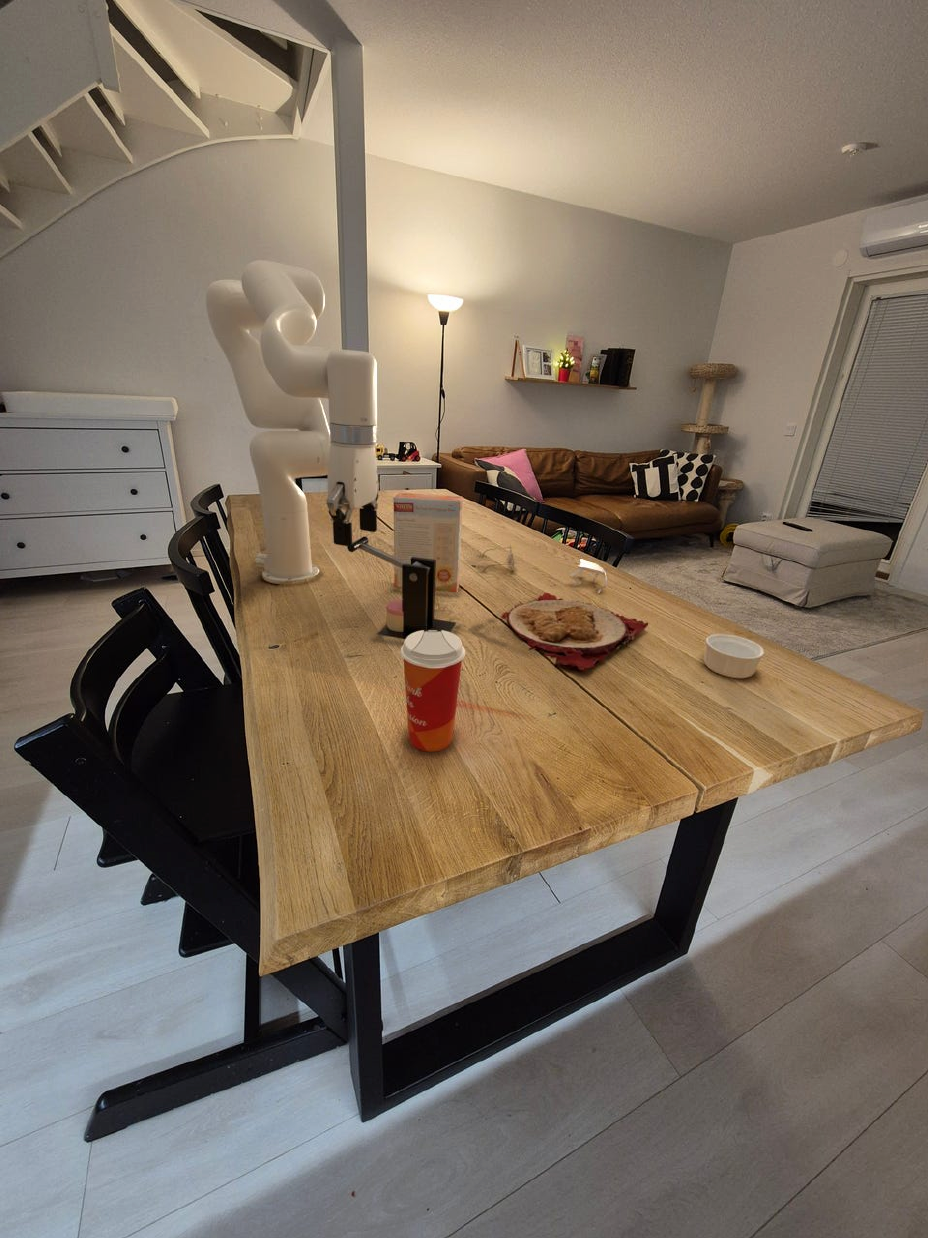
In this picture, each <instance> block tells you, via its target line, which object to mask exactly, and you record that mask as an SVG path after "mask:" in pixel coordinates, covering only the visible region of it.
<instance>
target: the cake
mask: <svg viewBox="0 0 928 1238" xmlns="http://www.w3.org/2000/svg"><path fill="white" fill-rule="evenodd" d="M385 608H386V625H387V627H388V628H389V629H390V630H393V631H397V632H403V611H402V599H394V600H391V601H388V602H387V604H386V607H385Z"/></svg>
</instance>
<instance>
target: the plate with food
mask: <svg viewBox="0 0 928 1238" xmlns="http://www.w3.org/2000/svg"><path fill="white" fill-rule="evenodd" d="M562 597H563V596H562ZM562 597H561V598H557V596H556V595H553V594H551V593H549V592H544V593H543V594H542V595H539V596H538V597H537V599H536V600H531V601H529V603H527V602H526V603H521V604H518V605H517V604H515V605H514V607H513V608H511V609H510V611H506V612H504V613H502V614H501V618H506V617H507V618H506V621H507V623H508V624H509V626H510V628H511V629H512V631H513V633H515V634H516V635H517V636H518V637H519V638H520V639H521V640H522V641H525V642H526V645H528V646H529V647H530V648H528V649H531V650H536V649H537V647H538V648H540V649H541V651H542V652H544V650H546V651H545V652H544V655H546V656H550V659H555V662H556V663H558V664H562V665H564V666H571V667H577V669H578V670H579V671H584V670H588V669H589V668H594V666H595V663H596V662H597V661H598V662H600V663H602V662H603V661H604V660H605V659H606V657H607V656H609V655H611V654H612V653H613V652H614V651H615V650H619V649H620V647H623V646H625V647H626V646H627V645H626V644H627V643H628V642H630V641H634V640H635V636H636V635H637V634H640V633H642V631H644V630H645V629H647V627H648V625H649V624H650V623H649V622H648V621H646V622H644V621H643V620H637V619H636V618H628V617H625V616H624V615H620V614H619V613H615V612H613V611H611V610H608V609H605V608H603V607H602V608H601V607H598V606H596V605H593V604H592V603H591V602H584V601H578V600H565V599H564V598H562ZM548 612H554V614H553V615H555V617H554V616H553V615H550V614H549V613H548ZM492 628H493V629H494V628H495V627H494V626H492ZM620 641H621V643H622V644H621V645H619V646H616V645H617V644H618V643H619V642H620ZM556 653H563V654H560V655H559V654H556Z"/></svg>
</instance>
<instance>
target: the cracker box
mask: <svg viewBox="0 0 928 1238" xmlns="http://www.w3.org/2000/svg"><path fill="white" fill-rule="evenodd" d="M392 500H393V556H394V557H396V558H398V559H401V560H403V561H405V562H407V563H409V564H411V558H412V557H418V558H425V559H433V560H436V576H435V591H440V592H451V593H458V591H459V588H460V577H461V576H460V573H461V554H462V553H461V552H462V551H461V549H462V526H463V525H462V524H463V496H460V495H447V494H446V495H445V494H431V493H414V492H413V493H412V492H398V493H397V494H396V495H395V496H393V499H392ZM393 572H394V573H393V576H394V579H393V580H394V582H393V583H394V587H395V588H402V568H400V567H398V566H396V565H394V564H393Z"/></svg>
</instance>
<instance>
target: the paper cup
mask: <svg viewBox="0 0 928 1238" xmlns="http://www.w3.org/2000/svg"><path fill="white" fill-rule="evenodd" d="M400 655H401V658H402V659H403V673H404V686H405V687H404V688H405V702H406V716H407V717H406V718H407V719H406V720H407V730H408V739H409V742H410V744H411V745H412V747H414V748H415V749H417V750H420V751H423V752H429V753H432V752H439V751H442V750H444V749H446V748H447V747H449V746H450V745H451V743H452V740H453V735H454V730H455V722H456V721H455V720H456V715H457V714H456V712H457V707H458V706H457V704H458V696H459V689H460V679H461V670H462V665H463V664H462V663H463V659H464V658H465V656H466V648H465V647H464V646H463V642H462V640H461V638H460V637H459V636H458V635H457V634H455V633H453V632H451V633H450V632H447V631H443V630H441V632H437V630H428V632H424V630H421V631H417V632H414V633H412V634H410V635H409V636H408V637H407V638H406V639H404V641H403V645H402V646H401V648H400Z"/></svg>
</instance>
